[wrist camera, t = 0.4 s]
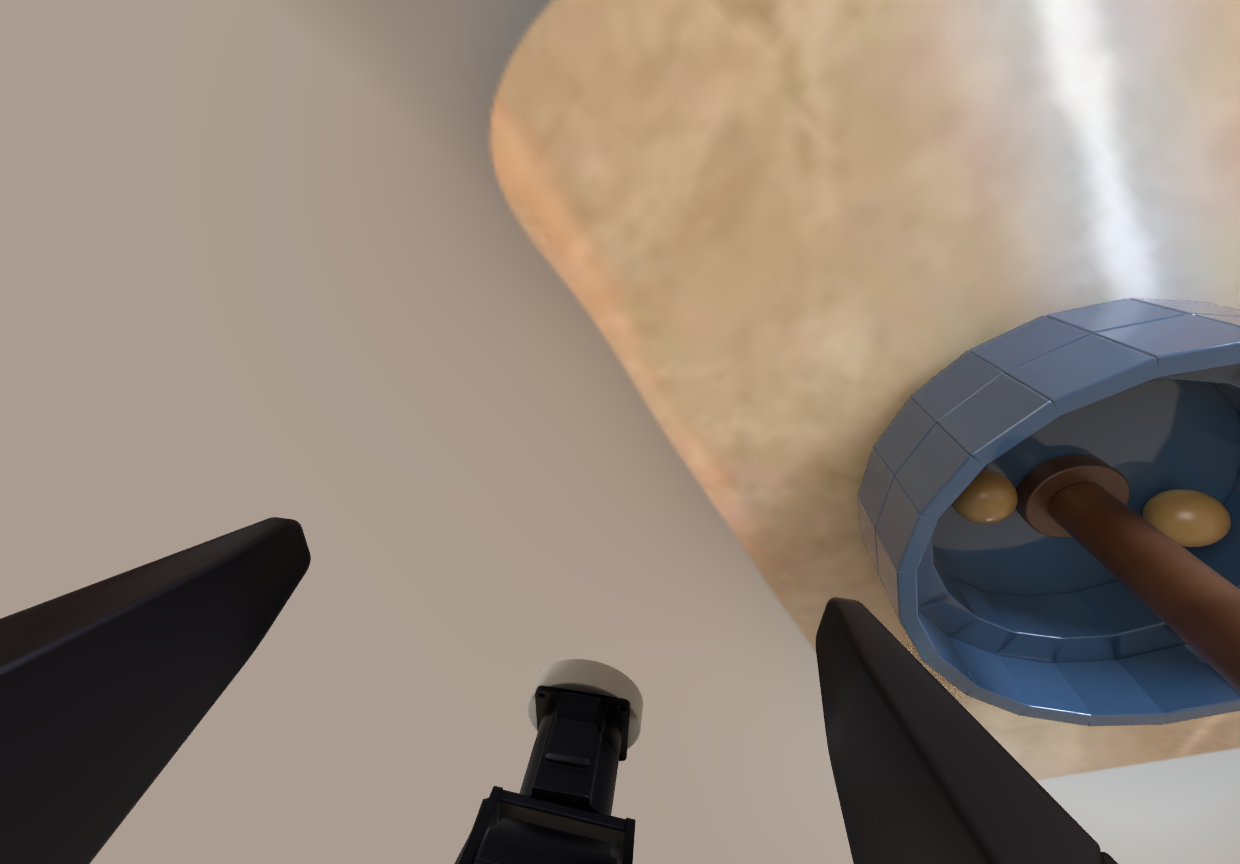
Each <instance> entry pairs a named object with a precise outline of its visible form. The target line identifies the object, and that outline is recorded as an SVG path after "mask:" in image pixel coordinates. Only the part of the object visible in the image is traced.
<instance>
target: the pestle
mask: <svg viewBox="0 0 1240 864" xmlns="http://www.w3.org/2000/svg"><path fill="white" fill-rule="evenodd" d="M1016 492H1017V505H1016V509H1017V511H1018V513H1019V514H1020V515H1021V517H1022V518H1023V519H1024V520H1025V521H1026V522H1027V523H1028V524H1029V525H1030V526H1031V527H1032V528H1034V529H1035V530H1036V531H1038V532H1040V533H1042V534H1045V535H1048V536H1051V537H1058V538H1071V537H1073V538H1074V539H1075V540H1076V541H1077V542H1078V543H1080V544H1081V545H1082V546H1083V547H1084V548H1085V549H1086V550H1087V551H1088V552H1089V553H1090V554H1091V555H1092V556H1093V557H1095V558H1096V559H1097V560H1098V561H1099V562H1100V563H1101V564H1102V565H1103V566H1104V567H1105V568H1106V569H1107V570H1108V571H1110V572H1111V573H1112V574H1113V575H1114V576H1115V577H1116V578H1117V579H1118V580H1119V581H1120V582H1121V583H1122V584H1123V585H1125V586H1126V587H1127V588H1128V589H1129V590H1130V591H1131V592H1132V593H1133V594H1134V595H1135V596H1136V597H1137V598H1138V599H1139V600H1141V601H1142V602H1143V603H1144V604H1145V605H1146V606H1147V607H1148V608H1149V609H1150V610H1151V611H1152V612H1153V613H1154V614H1156V615H1157V616H1158V617H1159V618H1160V619H1161V620H1162V621H1163V622H1164V623H1165V624H1166V625H1167V626H1168V627H1169V628H1171V629H1172V630H1173V631H1174V632H1175V633H1176V634H1177V635H1178V636H1179V637H1180V638H1181V639H1182V640H1183V641H1184V642H1186V643H1187V644H1188V645H1189V646H1190V647H1191V648H1192V649H1193V650H1194V651H1195V652H1196V653H1197V654H1198V655H1199V656H1201V657H1202V658H1203V659H1204V660H1205V661H1206V662H1207V663H1208V664H1209V665H1210V666H1211V667H1212V668H1213V669H1214V670H1216V671H1217V672H1218V673H1219V674H1220V675H1221V676H1222V677H1223V678H1224V679H1225V680H1226V681H1227V682H1228V683H1229V684H1231V685H1232V686H1233V687H1234V688H1235V689H1236V690H1237V691H1238V692H1239V693H1240V589H1239V588H1237V587H1236V586H1235V585H1233V584H1232V583H1231V582H1229V581H1228V580H1227V579H1225V578H1224V577H1222V576H1221V575H1220V574H1218V573H1217V572H1216V571H1214V570H1213V569H1212V568H1210V567H1209V566H1208V565H1206V564H1205V563H1204V562H1202V561H1201V560H1200V559H1198V558H1197V557H1196V556H1194V555H1193V554H1191V553H1190V552H1189V551H1187V550H1186V549H1185V548H1183V547H1182V546H1181V545H1179V544H1178V543H1177V542H1175V541H1174V540H1173V539H1171V538H1170V537H1169V536H1167V535H1166V534H1165V533H1163V532H1162V531H1160V530H1159V529H1158V528H1156V527H1155V526H1154V525H1152V524H1151V523H1150V522H1148V521H1147V520H1146V519H1144V518H1143V517H1142V516H1140V515H1139V514H1138V513H1136V512H1135V511H1134V510H1132V509H1131V508H1129V507H1128V506H1127V504H1128V501H1129V497H1130V487H1129V484H1128V482H1127V480H1126V478H1125V477H1124V476H1123V475H1122V474H1121V473H1120V472H1119V471H1117V470H1116V469H1114V468H1113V467H1111V466H1110V465H1108V464H1107V463H1105V462H1104V461H1102V460H1100V459H1098V458H1095V457H1091V456H1084V455H1069V456H1063V457H1059V458H1055V459H1052V460H1049V461H1047V462H1045V463H1043V464H1041V465H1039V466H1037V467H1036V468H1035V469H1033V470H1032V471H1031V472H1029V473H1028V474H1027V475H1026V476H1025V477H1024V478H1023V479H1022V481H1021V482H1020V484H1019V485H1018V487H1017V490H1016Z"/></svg>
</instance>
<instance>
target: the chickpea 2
mask: <svg viewBox="0 0 1240 864" xmlns="http://www.w3.org/2000/svg"><path fill="white" fill-rule="evenodd" d="M1143 518H1144V519H1146V520H1147V521H1148V522H1150V523H1151V524H1152V525H1154V526H1155V527H1156V528H1158V529H1159V530H1160V531H1162V532H1163V533H1165V534H1166V535H1167V536H1169V537H1170V538H1171V539H1173V540H1174V541H1175V542H1177V543H1178V544H1179V545H1181V546H1183V547H1202V546H1207V545H1210V544H1213V543H1215V542H1217V541H1219V540H1221V539H1222V538H1223V537H1224V536H1225V535H1226V534H1227V533H1228V531H1229V529H1230V525H1231V519H1230V515H1229V513H1228V511H1227V509H1226V508H1225V507H1224V505H1223V504H1221V503H1220V502H1219V501H1218V500H1216V499H1215V498H1213V497H1212V496H1210V495H1207V494H1205V493H1202V492H1199V491H1195V490H1188V489H1173V490H1167V491H1164V492H1161V493H1158V494H1156V495H1155V496H1153V497H1152V498H1150V499H1149V500H1148V501H1147V503H1146V504H1145V506H1144V508H1143Z"/></svg>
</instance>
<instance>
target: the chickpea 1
mask: <svg viewBox="0 0 1240 864" xmlns="http://www.w3.org/2000/svg"><path fill="white" fill-rule="evenodd" d="M1016 505H1017V492H1016V489H1015V487H1014V486H1013V484H1012V483H1011V482H1010V480H1009V479H1007V478H1006V477H1005V476H1003V475H1002V474H1000V473H998V472H995V471H992V470H988V469H983V470H982V471H981V472H980V473H979V474H978V475H977V477H976V478H975V479H974V480H973V481H972V482H971V483H970V484H969V486H968V487H967V488H966V489H965V490H964V491H963V492H962V493H961V494H960V496H959V497H958V498H957V499H956V500H955V501H954V502H953V503H952V507H953V508H954V510H955V511H956V512H957V513H958V514H959V515H960V516H962V517H963V518H965V519H967V520H969V521H971V522H975V523H979V524H993V523H997V522H1000V521H1003V520H1004V519H1006V518H1008V517H1009V516H1010V515H1011V514H1012V513H1013V511H1014V510H1015V508H1016Z"/></svg>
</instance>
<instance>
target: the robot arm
mask: <svg viewBox="0 0 1240 864" xmlns="http://www.w3.org/2000/svg"><path fill="white" fill-rule="evenodd" d="M310 559H311V556H310V552H309V549H308V546H307V542H306V539H305V536H304V533H303V530H302V527H301V525H300V524H299V523H298V522H297V521H295V520H292V519H285V518H278V517H274V518H269V519H266V520H263V521H261V522H258V523H255V524H253V525H250V526H247V527H244V528H242V529H239V530H236V531H234V532H231V533H229V534H226V535H223V536H221V537H218V538H215V539H212V540H210V541H207V542H204V543H202V544H199V545H196V546H194V547H191V548H189V549H186V550H183V551H180V552H178V553H175V554H172V555H170V556H167V557H164V558H162V559H159V560H156V561H154V562H151V563H148V564H146V565H143V566H140V567H138V568H135V569H132V570H129V571H127V572H124V573H122V574H119V575H116V576H113V577H111V578H108V579H105V580H103V581H100V582H98V583H95V584H92V585H90V586H87V587H84V588H81V589H79V590H76V591H74V592H71V593H68V594H65V595H63V596H60V597H57V598H55V599H52V600H49V601H47V602H44V603H42V604H39V605H36V606H33V607H31V608H28V609H26V610H23V611H20V612H17V613H15V614H12V615H9V616H7V617H4V618H1V619H0V864H90V862H91V861H92V860H93V859H94V857H95V856H96V855H97V854H98V852H99V851H100V850H101V848H102V847H103V846H104V844H105V843H106V842H107V841H108V839H109V838H110V837H111V836H112V834H113V833H114V832H115V830H116V829H117V828H118V827H119V825H120V824H121V823H122V821H123V820H124V819H125V818H126V816H127V815H128V814H129V812H130V811H131V810H132V809H133V807H134V806H135V805H136V803H137V802H138V801H139V800H140V798H141V797H142V796H143V794H144V793H145V792H146V791H147V789H148V788H149V786H150V785H151V784H152V783H153V782H154V780H155V779H156V778H157V776H158V775H159V774H160V772H161V771H162V770H163V769H164V767H165V766H166V765H167V763H168V762H169V761H170V760H171V758H172V757H173V756H174V754H175V753H176V752H177V751H178V749H179V748H180V747H181V745H182V744H183V743H184V742H185V740H186V739H187V738H188V736H189V735H190V734H191V732H192V731H193V730H194V729H195V727H196V726H197V725H198V724H199V722H200V721H201V720H202V718H203V717H204V716H205V714H206V713H207V712H208V711H209V709H210V708H211V707H212V706H213V704H214V703H215V702H216V700H217V699H218V698H219V696H220V695H221V694H222V692H223V691H224V690H225V689H226V688H227V686H228V685H229V683H230V682H231V681H232V680H233V678H234V677H235V676H236V674H237V673H238V672H239V671H240V669H241V668H242V667H243V666H244V664H245V663H246V662H247V660H248V659H249V657H250V656H251V655H252V654H253V652H254V651H255V649H256V648H257V647H258V645H259V644H260V642H261V641H262V639H263V638H264V636H265V635H266V633H267V632H268V630H269V629H270V627H271V626H272V624H273V622H274V621H275V619H276V618H277V616H278V615H279V613H280V612H281V610H282V609H283V607H284V605H285V604H286V602H287V600H288V599H289V598H290V596H291V595H292V593H293V591H294V590H295V588H296V587H297V585H298V584H299V582H300V581H301V579H302V578H303V576H304V575H305V573H306V571H307V570H308V567H309V565H310ZM816 653H817V662H818V670H819V679H820V687H821V694H822V704H823V712H824V719H825V720H824V721H825V728H826V736H827V744H828V750H829V756H830V761H831V766H832V770H833V775H834V779H835V783H836V788H837V792H838V797H839V801H840V806H841V810H842V814H843V819H844V823H845V828H846V832H847V836H848V841H849V845H850V849H851V854H852V858H853V862H854V864H1118V863H1117V862H1116V861H1115V860H1114V859H1113V858H1112V857H1111V856H1110V855H1109V854H1107V853H1105V852H1101V851H1100V847H1099V845H1098V843H1097V842H1095V840H1094V839H1093V838H1092V837H1091V836H1090V835H1089V834H1088V833H1087V832H1086V831H1085V830H1084V829H1083V828H1082V827H1081V826H1080V825H1079V824H1078V823H1077V822H1076V821H1075V820H1074V819H1073V818H1072V817H1071V816H1070V815H1069V814H1068V813H1067V812H1066V811H1065V810H1064V809H1063V808H1062V807H1061V806H1060V805H1059V804H1058V803H1057V802H1056V801H1055V800H1054V799H1053V798H1052V797H1051V796H1050V795H1049V793H1048V792H1046V790H1045V789H1044V788H1043V787H1041V785H1040V784H1039V783H1038V782H1037V781H1036V780H1035V779H1034V778H1033V777H1032V776H1031V775H1030V774H1029V773H1028V772H1027V771H1026V770H1025V769H1024V768H1023V767H1022V766H1021V765H1020V764H1019V763H1018V762H1017V761H1016V760H1015V759H1014V758H1013V757H1012V756H1011V755H1010V754H1009V753H1008V752H1007V751H1006V750H1005V749H1004V748H1003V747H1002V746H1001V745H1000V744H999V743H998V742H997V741H996V740H995V739H994V738H993V737H992V735H991V734H990V733H989V732H988V731H987V730H986V729H985V728H984V727H983V726H982V725H981V724H980V723H979V722H978V721H977V720H976V719H975V718H974V717H973V716H972V715H971V714H970V713H969V712H968V711H967V710H966V709H965V708H964V707H963V706H962V705H961V704H960V703H959V702H958V701H957V700H956V699H955V698H954V697H953V696H952V695H951V694H950V693H949V692H948V691H947V690H946V689H945V688H944V687H943V686H942V685H941V684H940V683H939V682H938V681H937V680H936V679H935V677H934V676H933V675H932V674H931V673H930V672H929V671H928V670H927V669H926V668H925V667H924V666H923V665H922V664H921V663H920V662H919V661H918V660H917V659H916V658H915V657H914V656H913V655H912V654H911V653H910V652H909V651H908V650H907V649H906V648H905V647H904V646H903V645H902V644H901V643H900V642H899V641H898V640H897V639H896V638H895V637H894V636H893V635H892V634H891V633H890V632H889V631H888V630H887V629H886V628H885V627H884V626H883V625H882V624H881V623H880V622H879V621H878V619H877V618H876V617H875V616H874V615H873V614H872V613H871V612H870V611H869V610H868V609H867V608H866V607H865V606H864V605H863V604H862V603H860V602H859V601H856V600H851V599H844V598H837V597H834V598H831V599H830V600H829V601H828V603H827V605H826V608H825V611H824V614H823V617H822V620H821V622H820V625H819V628H818V631H817V635H816ZM535 703H536V717H537V731H538V733H537V736H536V740H535V743H534V746H533V750H532V753H531V757H530V760H529V763H528V767H527V770H526V773H525V777H524V780H523V783H522V787H521V790H520V794H518V793H514V792H510V791H506V790H503V788H502V787H497V786H494V787H493V789H492V792H491V794H490V797H489V798H486V799H483V801H482V804H481V807H480V809H479V813H478V815H477V818H476V821H475V823H474V826H473V829H472V831H471V833H470V835H469V837H468V839H467V841H466V843H465V845H464V847H463V848H462V850H461V852H460V854H459V856H458V858H457V860H456V862H455V864H632V862H633V847H634V832H635V820H634V819H630V818H626V819H622V818H618V817H614V816H611V812H612V805H613V798H614V790H615V783H616V775H617V769H618V761H625V760H626V758H627V749H628V735H629V722H630V708H631V703H630V702H629V701H628V700H627V699H623V698H617V697H611V696H605V695H599V694H593V693H587V692H581V691H574V690H568V689H562V688H556V687H550V686H544V685H540V686H538V687H537V689H536V692H535Z"/></svg>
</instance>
